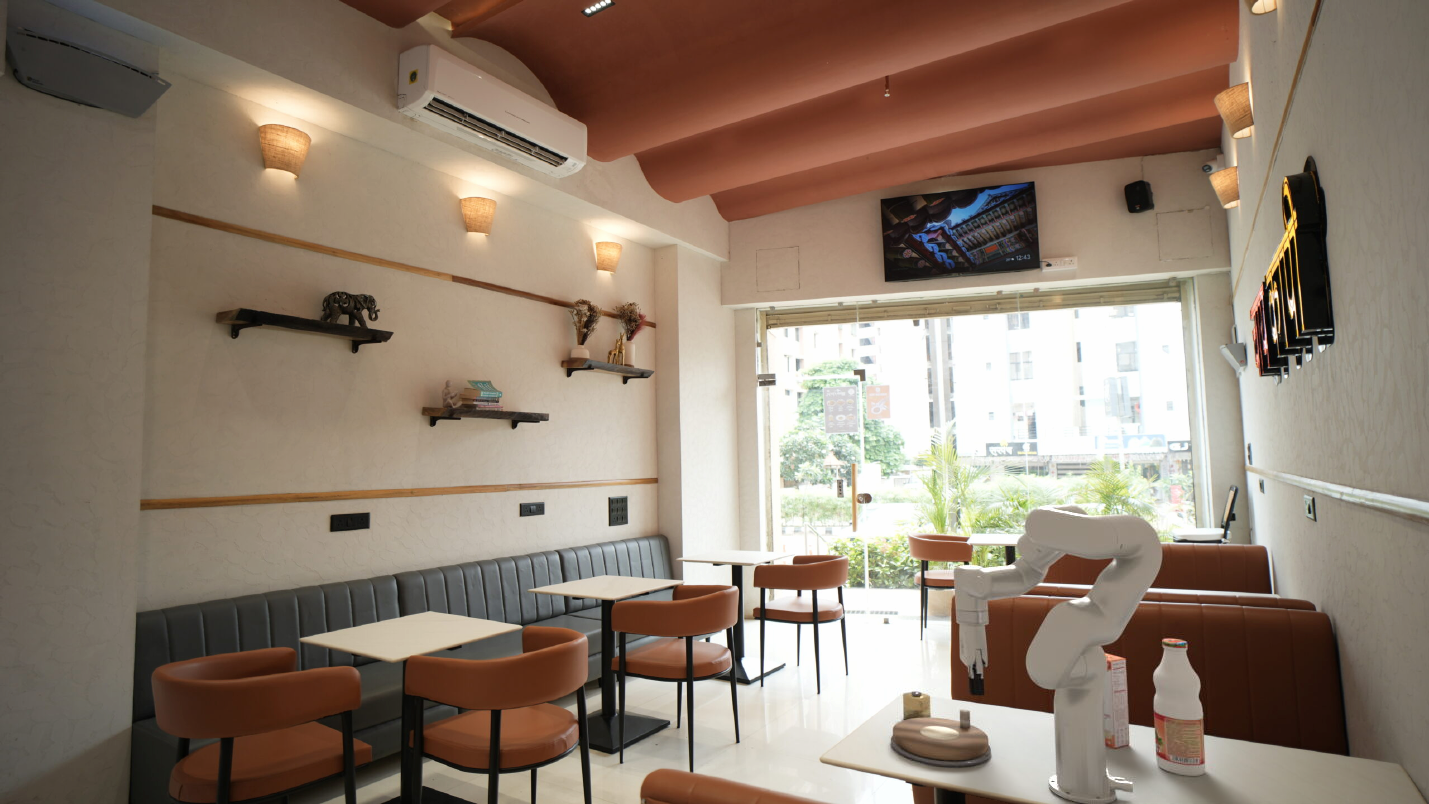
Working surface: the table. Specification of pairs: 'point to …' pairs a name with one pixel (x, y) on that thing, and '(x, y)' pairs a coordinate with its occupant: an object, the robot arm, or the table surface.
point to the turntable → (941, 738)
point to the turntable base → (941, 762)
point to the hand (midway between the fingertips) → (977, 694)
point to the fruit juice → (1178, 713)
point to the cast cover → (916, 705)
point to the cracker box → (1116, 703)
